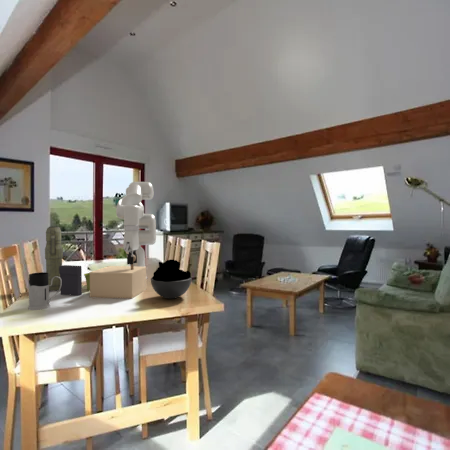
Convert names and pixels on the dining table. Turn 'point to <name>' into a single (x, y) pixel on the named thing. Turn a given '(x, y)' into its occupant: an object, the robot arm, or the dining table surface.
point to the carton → (117, 285)
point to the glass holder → (39, 291)
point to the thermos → (53, 256)
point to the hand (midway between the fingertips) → (132, 263)
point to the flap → (119, 269)
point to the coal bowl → (170, 279)
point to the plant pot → (87, 280)
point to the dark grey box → (70, 280)
